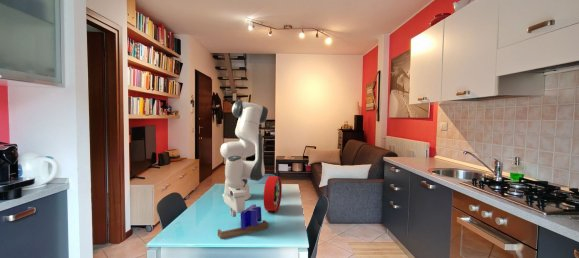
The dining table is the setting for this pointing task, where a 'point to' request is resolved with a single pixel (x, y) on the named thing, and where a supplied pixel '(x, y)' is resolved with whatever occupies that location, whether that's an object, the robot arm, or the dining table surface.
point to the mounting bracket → (251, 216)
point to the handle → (242, 230)
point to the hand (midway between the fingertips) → (233, 216)
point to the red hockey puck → (272, 193)
